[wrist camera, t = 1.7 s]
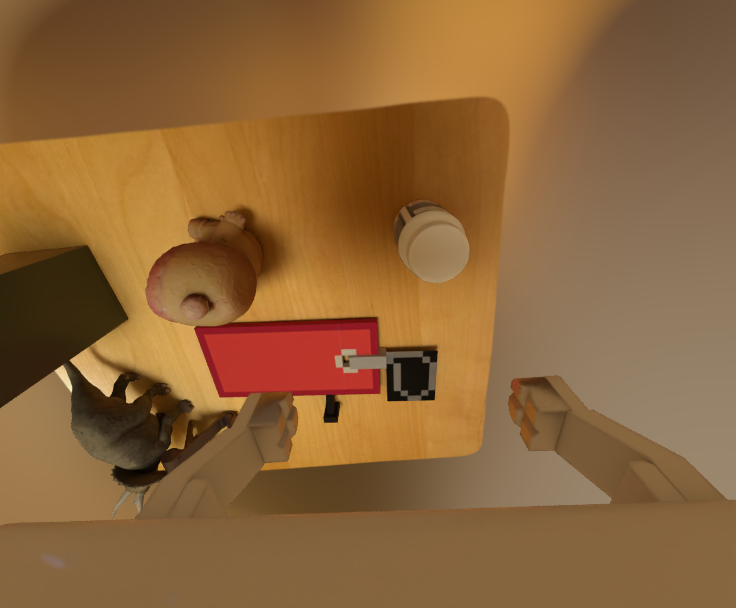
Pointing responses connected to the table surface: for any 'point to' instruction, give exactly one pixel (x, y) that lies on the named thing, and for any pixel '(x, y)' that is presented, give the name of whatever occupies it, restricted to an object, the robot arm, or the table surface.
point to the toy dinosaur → (123, 431)
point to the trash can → (50, 313)
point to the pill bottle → (430, 241)
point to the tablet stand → (195, 442)
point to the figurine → (207, 274)
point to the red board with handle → (313, 361)
